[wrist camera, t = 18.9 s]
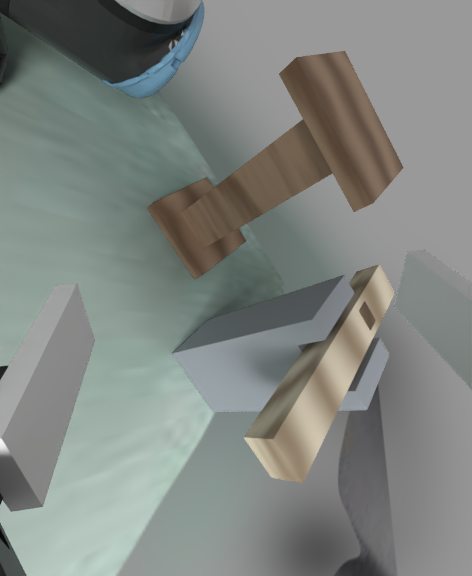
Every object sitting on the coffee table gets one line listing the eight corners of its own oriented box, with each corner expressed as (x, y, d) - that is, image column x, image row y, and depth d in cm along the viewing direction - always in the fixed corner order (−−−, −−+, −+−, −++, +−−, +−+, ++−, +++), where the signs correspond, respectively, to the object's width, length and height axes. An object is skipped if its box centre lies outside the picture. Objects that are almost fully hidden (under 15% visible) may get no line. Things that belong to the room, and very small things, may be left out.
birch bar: (271, 477, 26) (304, 483, 24) (243, 437, 26) (274, 439, 24) (371, 298, 44) (395, 292, 42) (356, 271, 43) (380, 264, 41)
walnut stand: (198, 284, 52) (373, 203, 32) (143, 202, 50) (296, 57, 30) (241, 250, 60) (403, 167, 40) (196, 177, 58) (344, 51, 38)
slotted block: (212, 411, 48) (367, 410, 32) (171, 353, 46) (312, 319, 30) (244, 373, 54) (389, 354, 37) (208, 319, 52) (344, 274, 35)
